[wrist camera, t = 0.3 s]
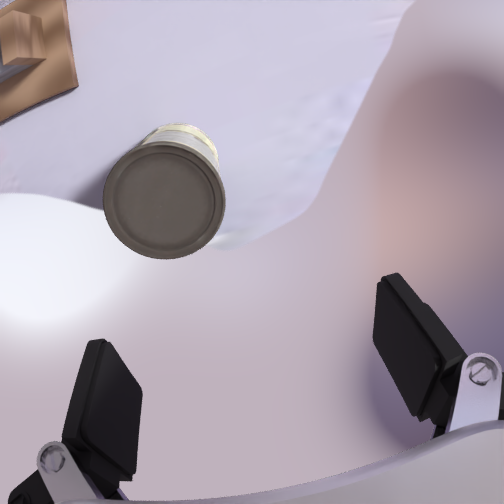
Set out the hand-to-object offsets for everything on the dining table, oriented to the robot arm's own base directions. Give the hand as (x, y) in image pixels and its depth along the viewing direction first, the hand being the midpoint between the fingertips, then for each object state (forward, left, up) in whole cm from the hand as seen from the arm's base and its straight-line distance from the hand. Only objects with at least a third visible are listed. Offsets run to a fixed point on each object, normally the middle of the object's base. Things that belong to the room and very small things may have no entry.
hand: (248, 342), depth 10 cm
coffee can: (+1, -5, -31) cm, 32 cm away
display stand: (-20, -25, -31) cm, 45 cm away
